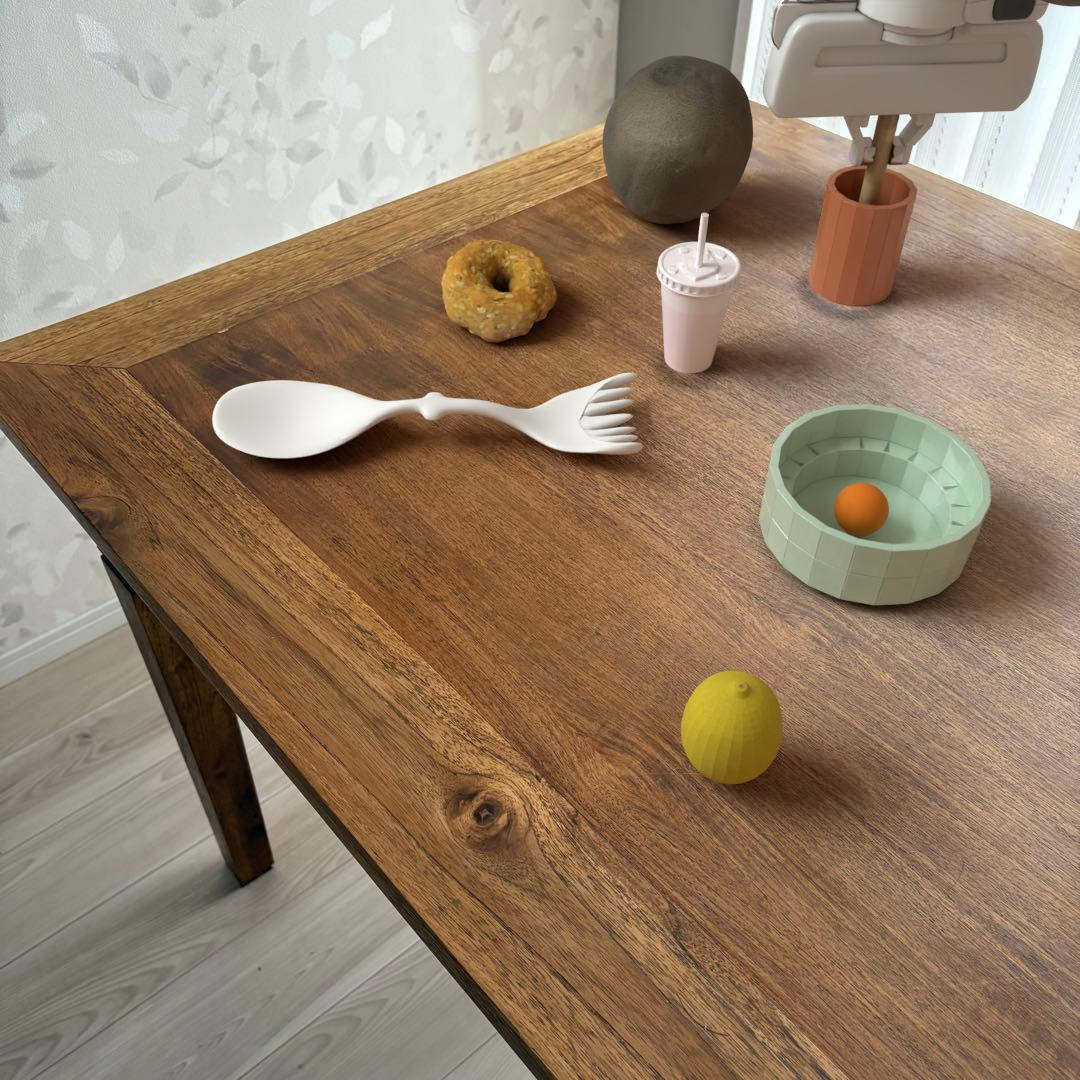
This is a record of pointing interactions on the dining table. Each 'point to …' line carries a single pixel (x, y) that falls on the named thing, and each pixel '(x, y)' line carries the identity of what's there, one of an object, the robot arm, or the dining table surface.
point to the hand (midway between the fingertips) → (878, 162)
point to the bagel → (497, 289)
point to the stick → (879, 159)
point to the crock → (860, 238)
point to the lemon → (732, 727)
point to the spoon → (340, 415)
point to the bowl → (905, 479)
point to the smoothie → (695, 299)
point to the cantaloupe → (677, 139)
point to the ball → (861, 509)
